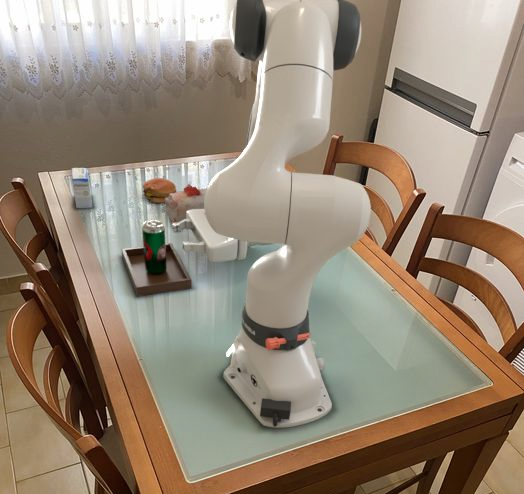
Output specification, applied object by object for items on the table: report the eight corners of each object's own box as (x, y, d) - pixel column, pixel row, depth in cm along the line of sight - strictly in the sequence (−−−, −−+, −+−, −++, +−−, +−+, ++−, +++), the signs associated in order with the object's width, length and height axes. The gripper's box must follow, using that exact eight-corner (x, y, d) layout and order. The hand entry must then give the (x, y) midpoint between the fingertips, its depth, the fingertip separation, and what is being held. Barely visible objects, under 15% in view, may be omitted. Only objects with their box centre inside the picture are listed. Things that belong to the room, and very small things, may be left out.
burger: (178, 191, 163) (178, 176, 160) (173, 204, 156) (173, 189, 153) (146, 189, 163) (145, 174, 160) (140, 202, 156) (138, 186, 153)
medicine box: (75, 197, 155) (70, 167, 149) (91, 196, 156) (87, 167, 151) (76, 208, 149) (71, 179, 144) (92, 207, 151) (88, 178, 145)
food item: (173, 230, 144) (172, 196, 138) (164, 217, 149) (162, 184, 143) (220, 223, 149) (221, 189, 143) (209, 211, 155) (209, 178, 148)
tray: (191, 288, 123) (191, 279, 122) (137, 296, 119) (136, 287, 118) (172, 251, 135) (171, 242, 134) (122, 257, 131) (121, 249, 130)
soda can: (162, 277, 125) (159, 230, 117) (141, 273, 125) (138, 227, 118) (169, 266, 129) (167, 220, 121) (149, 262, 129) (146, 217, 122)
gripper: (220, 200, 133) (166, 205, 129) (249, 238, 119) (189, 246, 115) (219, 223, 137) (167, 229, 133) (247, 262, 123) (190, 271, 119)
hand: (177, 237), depth 124 cm, fingers open, 8 cm apart
